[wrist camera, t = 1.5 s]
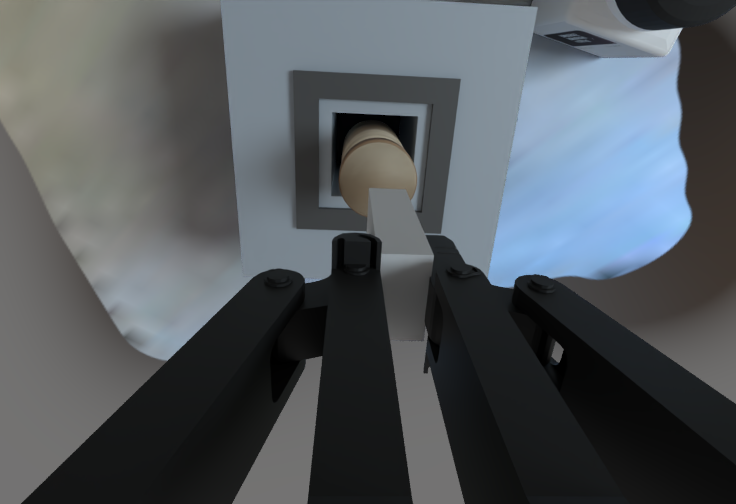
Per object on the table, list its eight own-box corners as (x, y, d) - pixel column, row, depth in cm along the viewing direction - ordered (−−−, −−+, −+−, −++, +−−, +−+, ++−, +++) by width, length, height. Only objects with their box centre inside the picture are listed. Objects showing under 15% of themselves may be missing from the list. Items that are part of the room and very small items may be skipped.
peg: (343, 117, 29) (339, 139, 21) (401, 120, 29) (420, 143, 21) (341, 176, 31) (337, 217, 23) (397, 178, 31) (413, 219, 23)
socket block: (256, 8, 32) (217, -14, 23) (487, 22, 33) (540, 6, 24) (268, 227, 40) (241, 278, 30) (456, 233, 41) (488, 285, 31)
